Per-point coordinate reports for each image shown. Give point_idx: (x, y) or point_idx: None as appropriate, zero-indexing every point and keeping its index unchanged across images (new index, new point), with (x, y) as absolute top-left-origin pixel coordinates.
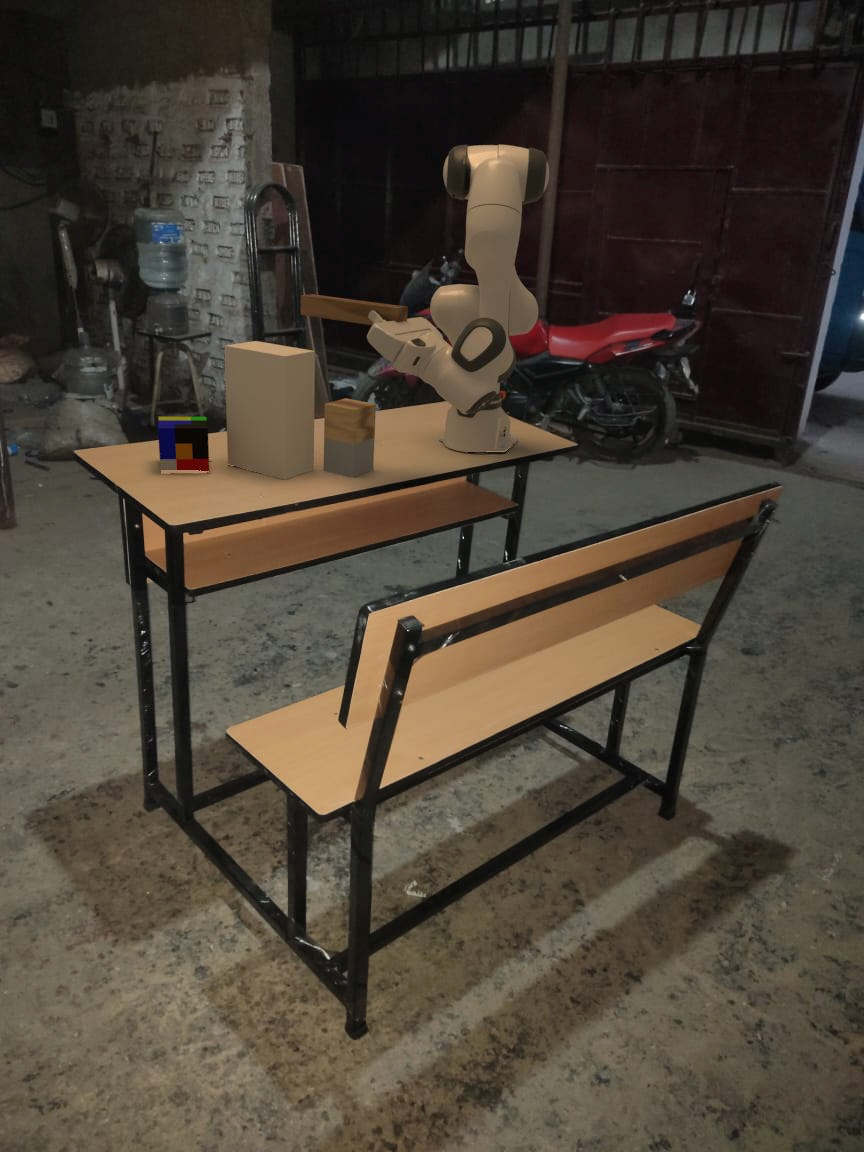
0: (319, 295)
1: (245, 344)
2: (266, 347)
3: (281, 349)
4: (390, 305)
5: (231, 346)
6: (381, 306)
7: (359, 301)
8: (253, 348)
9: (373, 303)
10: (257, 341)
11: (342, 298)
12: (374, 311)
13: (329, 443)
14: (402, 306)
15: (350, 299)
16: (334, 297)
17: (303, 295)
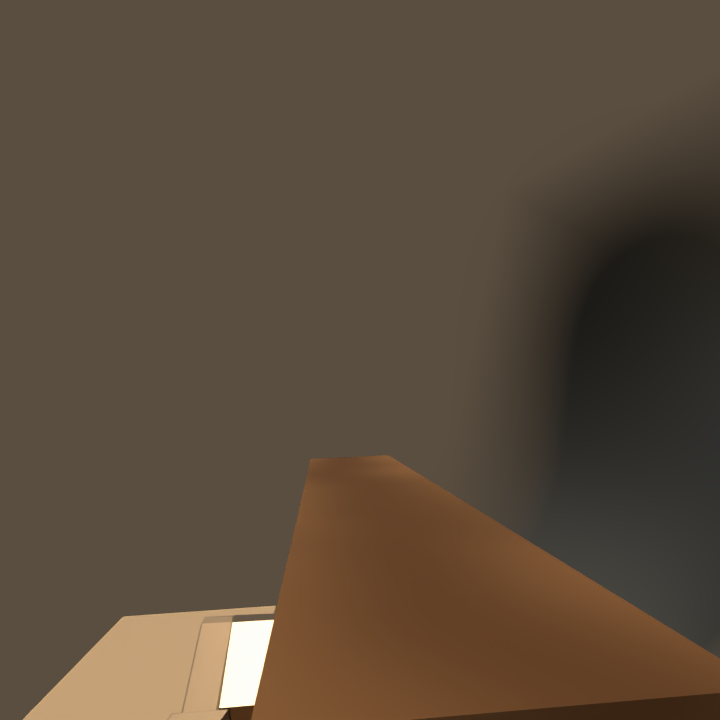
0: (388, 458)
1: (188, 621)
2: (176, 657)
3: (169, 689)
4: (476, 574)
5: (120, 625)
6: (284, 583)
7: (394, 494)
8: (122, 654)
9: (403, 520)
10: (271, 609)
11: (409, 472)
12: (219, 636)
13: None
14: (636, 641)
15: (420, 478)
16: (399, 466)
17: (316, 459)
